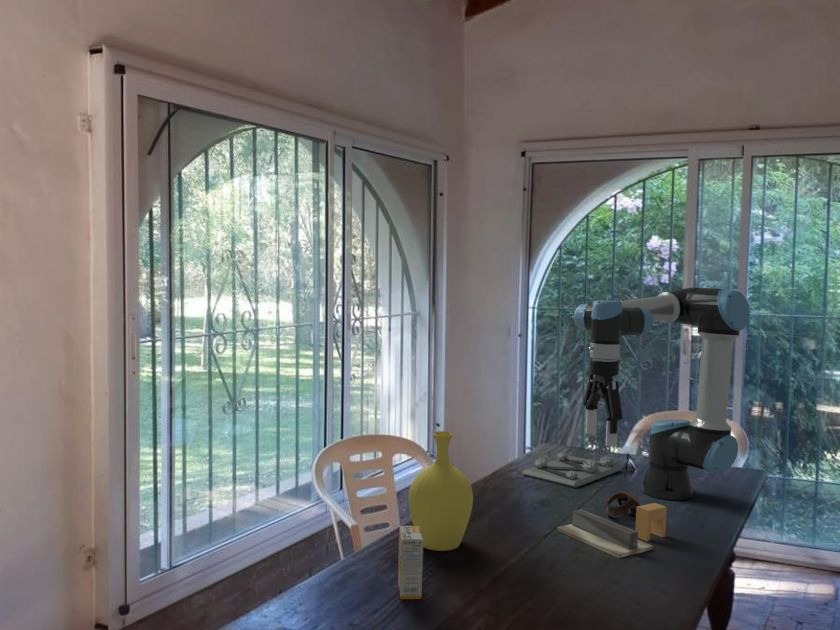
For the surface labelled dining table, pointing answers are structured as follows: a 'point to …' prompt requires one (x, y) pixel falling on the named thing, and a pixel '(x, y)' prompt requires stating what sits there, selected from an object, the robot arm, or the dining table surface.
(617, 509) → the pottery mug
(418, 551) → the supplement box
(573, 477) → the decorative plate
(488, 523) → the dining table surface
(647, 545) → the rail block
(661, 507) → the clip
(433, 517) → the vase
